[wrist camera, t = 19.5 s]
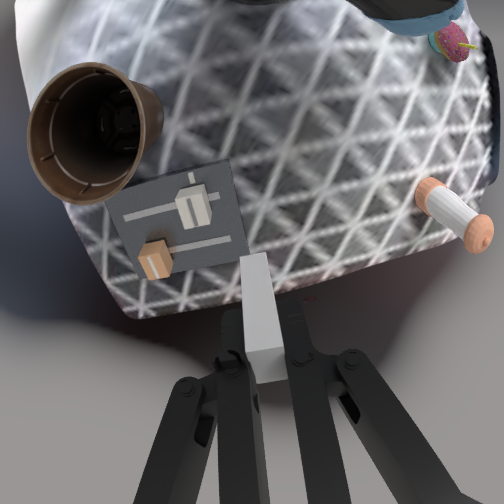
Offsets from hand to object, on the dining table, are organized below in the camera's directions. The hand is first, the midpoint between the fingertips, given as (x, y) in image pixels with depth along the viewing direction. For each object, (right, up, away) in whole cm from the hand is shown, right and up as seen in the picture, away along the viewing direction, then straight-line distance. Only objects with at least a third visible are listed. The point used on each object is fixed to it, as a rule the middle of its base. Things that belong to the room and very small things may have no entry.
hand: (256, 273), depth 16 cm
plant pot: (-20, +22, +19) cm, 35 cm away
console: (-13, +6, +30) cm, 33 cm away
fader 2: (-9, +9, +26) cm, 29 cm away
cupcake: (+34, +40, +12) cm, 54 cm away
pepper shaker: (+35, +13, +30) cm, 48 cm away
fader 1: (-17, +1, +30) cm, 35 cm away
